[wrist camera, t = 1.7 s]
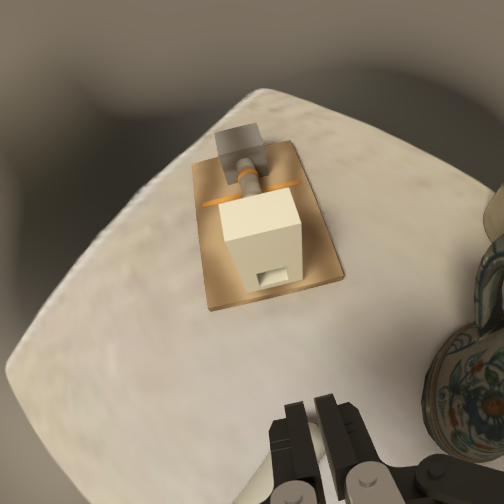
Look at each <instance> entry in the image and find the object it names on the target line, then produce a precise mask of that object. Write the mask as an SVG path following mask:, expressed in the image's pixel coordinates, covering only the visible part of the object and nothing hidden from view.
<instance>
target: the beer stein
mask: <svg viewBox="0 0 504 504" xmlns="http://www.w3.org/2000/svg"><path fill="white" fill-rule="evenodd" d="M503 280H504V234H503V235H501V236H500V237H499V238H497V239H496V240H495V241H494V242H493V243H492V244H491V245H490V247H489V248H488V249H487V251H486V253H485V254H484V256H483V257H482V260H481V262H480V265H479V268H478V272H477V275H476V283H475V294H474V302H475V322H472V323H470V324H468V325H466V326H464V327H463V328H461V329H460V330H459V331H457V332H456V333H454V334H453V335H452V336H451V337H450V338H449V340H448V341H447V342H446V343H445V344H444V346H443V347H442V349H441V350H440V352H439V353H438V354H437V355H436V357H435V359H434V361H433V363H432V365H431V367H430V369H429V370H428V372H427V374H426V376H425V382H424V388H423V394H422V399H421V405H422V412H423V420H424V424H425V426H426V428H427V431H428V433H429V435H430V436H431V437H432V439H433V440H434V441H435V442H436V443H437V445H438V446H439V447H440V448H441V449H442V450H443V451H445V452H446V453H447V454H449V455H450V456H452V457H455V458H458V459H461V460H464V461H467V462H471V463H484V462H488V461H492V460H495V459H497V458H499V457H501V456H503V455H504V310H503V307H502V304H503V298H502V285H503Z"/></svg>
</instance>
